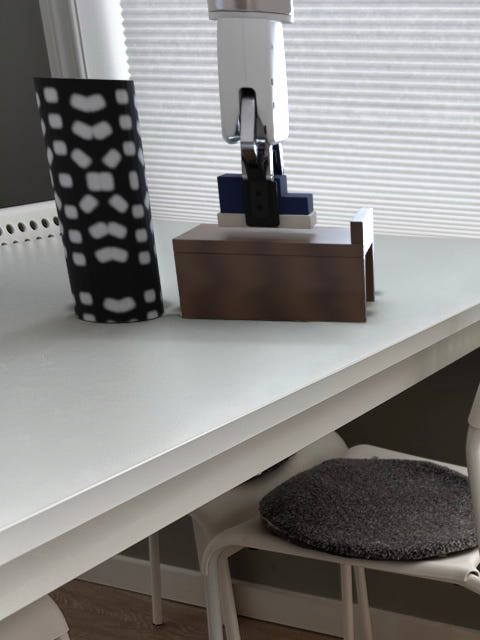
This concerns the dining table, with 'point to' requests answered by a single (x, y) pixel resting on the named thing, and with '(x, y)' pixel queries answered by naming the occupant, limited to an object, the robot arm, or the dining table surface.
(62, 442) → the dining table surface
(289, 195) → the trainer
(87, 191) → the spotted tube
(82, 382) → the dining table surface
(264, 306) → the wooden storage chest
